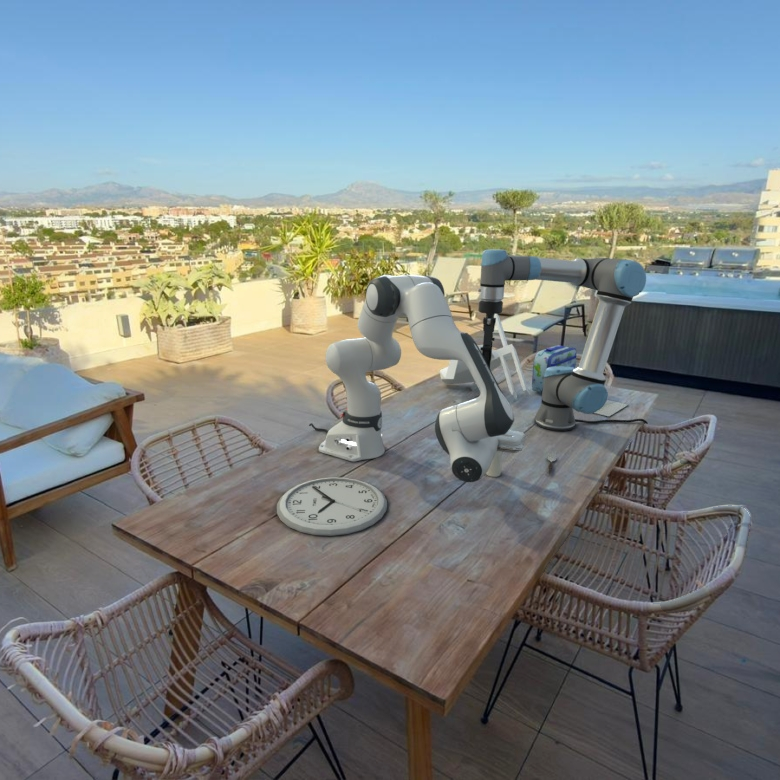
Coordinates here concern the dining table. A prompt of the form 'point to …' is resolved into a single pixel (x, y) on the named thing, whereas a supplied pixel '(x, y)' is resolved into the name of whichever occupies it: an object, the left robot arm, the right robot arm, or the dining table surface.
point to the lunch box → (551, 363)
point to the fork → (551, 460)
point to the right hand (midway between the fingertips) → (486, 365)
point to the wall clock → (331, 506)
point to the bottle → (495, 465)
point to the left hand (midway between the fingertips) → (490, 426)
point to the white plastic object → (462, 374)
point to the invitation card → (610, 408)
